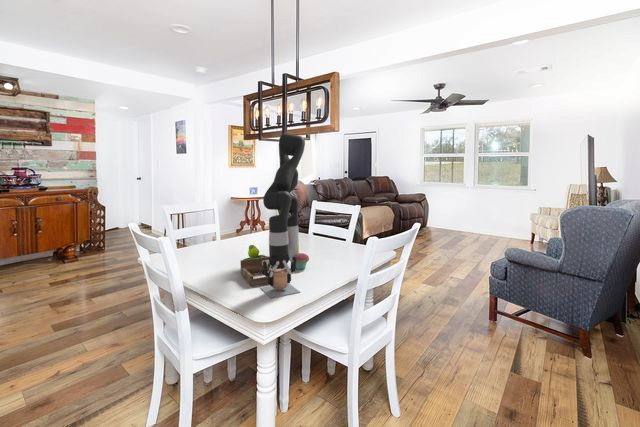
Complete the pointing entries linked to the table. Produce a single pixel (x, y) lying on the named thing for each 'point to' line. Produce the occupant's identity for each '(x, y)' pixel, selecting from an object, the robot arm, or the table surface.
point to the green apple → (254, 253)
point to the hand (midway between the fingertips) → (279, 284)
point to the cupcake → (301, 259)
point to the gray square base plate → (279, 291)
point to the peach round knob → (280, 279)
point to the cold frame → (254, 271)
